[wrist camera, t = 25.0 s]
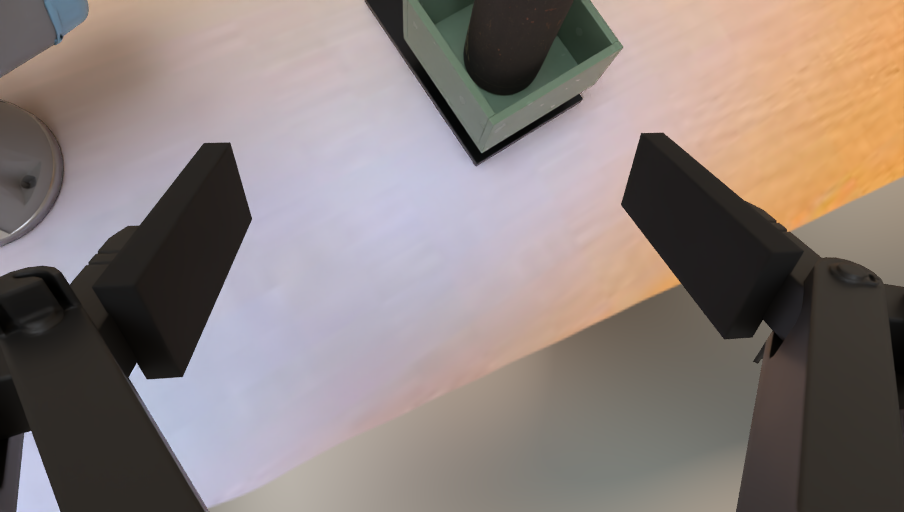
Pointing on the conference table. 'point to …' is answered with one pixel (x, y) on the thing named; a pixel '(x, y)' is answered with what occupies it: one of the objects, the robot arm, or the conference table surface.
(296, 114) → the conference table surface
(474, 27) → the container
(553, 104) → the green box on stand
